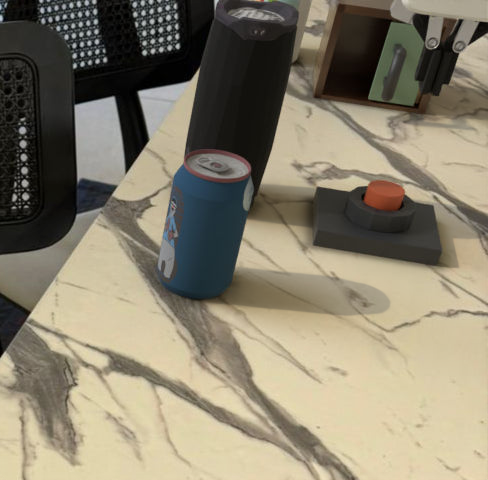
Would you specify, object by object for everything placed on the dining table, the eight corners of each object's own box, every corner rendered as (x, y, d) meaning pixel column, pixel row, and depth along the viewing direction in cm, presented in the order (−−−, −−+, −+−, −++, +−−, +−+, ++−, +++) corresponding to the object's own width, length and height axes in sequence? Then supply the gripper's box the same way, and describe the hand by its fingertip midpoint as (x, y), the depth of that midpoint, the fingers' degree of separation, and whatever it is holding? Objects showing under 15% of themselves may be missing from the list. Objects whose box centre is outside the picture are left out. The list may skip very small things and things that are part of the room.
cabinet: (417, 90, 137) (449, -5, 129) (423, 118, 129) (457, 19, 121) (312, 74, 138) (336, -21, 131) (311, 101, 131) (338, 3, 123)
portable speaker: (253, 187, 111) (300, -3, 98) (258, 228, 104) (309, 30, 91) (175, 177, 112) (211, -13, 99) (174, 217, 105) (213, 18, 92)
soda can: (242, 286, 95) (273, 164, 87) (204, 315, 91) (232, 190, 83) (180, 259, 98) (204, 138, 90) (139, 285, 94) (161, 162, 86)
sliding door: (412, 104, 129) (438, 27, 123) (416, 120, 125) (442, 41, 119) (368, 97, 130) (391, 20, 124) (369, 113, 126) (393, 34, 120)
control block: (426, 224, 108) (439, 188, 105) (434, 270, 100) (449, 233, 98) (311, 205, 109) (321, 169, 106) (311, 249, 102) (322, 213, 99)
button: (398, 199, 103) (404, 183, 102) (400, 215, 101) (406, 199, 100) (362, 193, 104) (367, 177, 103) (363, 209, 101) (369, 193, 100)
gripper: (410, -136, 81) (347, 94, 93) (607, -115, 79) (517, 116, 91) (403, -154, 87) (345, 65, 99) (588, -135, 85) (505, 86, 97)
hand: (428, 89), depth 95 cm, fingers closed
